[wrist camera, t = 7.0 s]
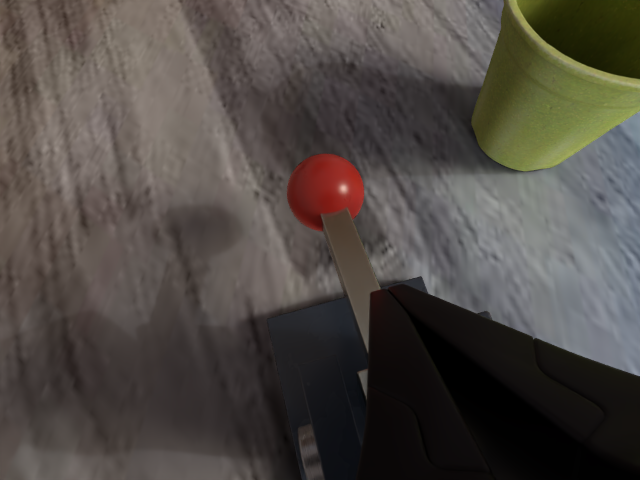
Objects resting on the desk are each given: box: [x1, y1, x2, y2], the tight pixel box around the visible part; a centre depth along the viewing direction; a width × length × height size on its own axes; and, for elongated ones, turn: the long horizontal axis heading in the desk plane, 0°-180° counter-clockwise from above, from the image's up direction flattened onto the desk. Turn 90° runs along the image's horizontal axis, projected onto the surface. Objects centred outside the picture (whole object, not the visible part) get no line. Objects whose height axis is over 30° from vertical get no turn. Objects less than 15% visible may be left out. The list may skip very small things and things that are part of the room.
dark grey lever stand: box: [267, 276, 492, 480], centre depth 13 cm, size 10×8×10 cm
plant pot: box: [471, 0, 640, 171], centre depth 19 cm, size 9×9×9 cm
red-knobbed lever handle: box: [287, 154, 381, 420], centre depth 13 cm, size 12×3×3 cm, turn 15°
